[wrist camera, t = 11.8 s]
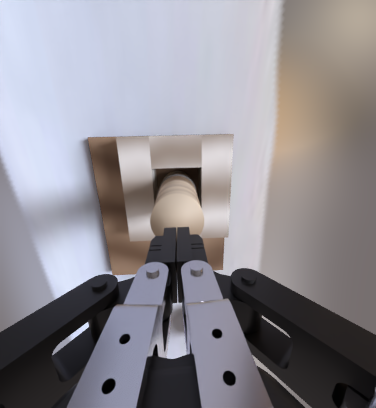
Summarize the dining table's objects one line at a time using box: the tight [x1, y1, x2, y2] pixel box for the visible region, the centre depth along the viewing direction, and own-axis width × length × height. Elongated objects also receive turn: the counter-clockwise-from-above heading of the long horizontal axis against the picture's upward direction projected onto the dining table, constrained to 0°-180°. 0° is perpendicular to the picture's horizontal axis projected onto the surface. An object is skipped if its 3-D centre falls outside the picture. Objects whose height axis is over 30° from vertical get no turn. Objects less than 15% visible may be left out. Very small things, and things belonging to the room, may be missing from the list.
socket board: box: [88, 134, 234, 275], centre depth 26 cm, size 20×17×6 cm
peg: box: [150, 171, 204, 236], centre depth 20 cm, size 4×4×12 cm
